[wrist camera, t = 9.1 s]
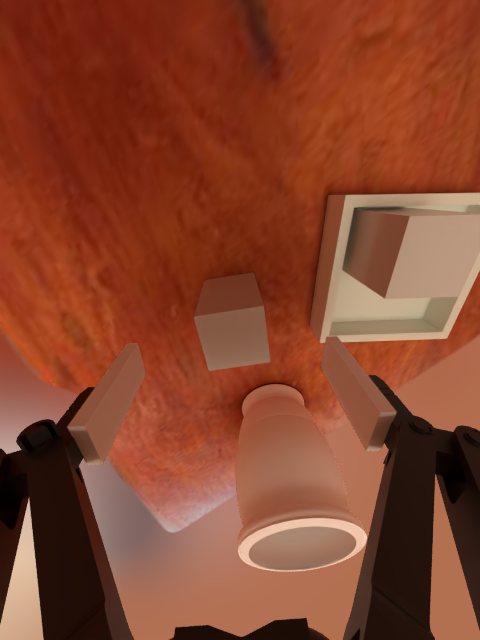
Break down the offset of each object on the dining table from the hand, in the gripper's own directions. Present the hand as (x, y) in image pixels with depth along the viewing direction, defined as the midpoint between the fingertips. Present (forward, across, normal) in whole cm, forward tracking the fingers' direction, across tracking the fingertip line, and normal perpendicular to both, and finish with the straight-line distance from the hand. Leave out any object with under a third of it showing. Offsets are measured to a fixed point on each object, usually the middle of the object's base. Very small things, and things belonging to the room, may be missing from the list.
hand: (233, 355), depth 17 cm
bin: (+9, +15, +4) cm, 18 cm away
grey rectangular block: (+9, 0, +1) cm, 9 cm away
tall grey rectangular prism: (+8, +13, +6) cm, 16 cm away
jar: (+10, +5, -15) cm, 19 cm away
